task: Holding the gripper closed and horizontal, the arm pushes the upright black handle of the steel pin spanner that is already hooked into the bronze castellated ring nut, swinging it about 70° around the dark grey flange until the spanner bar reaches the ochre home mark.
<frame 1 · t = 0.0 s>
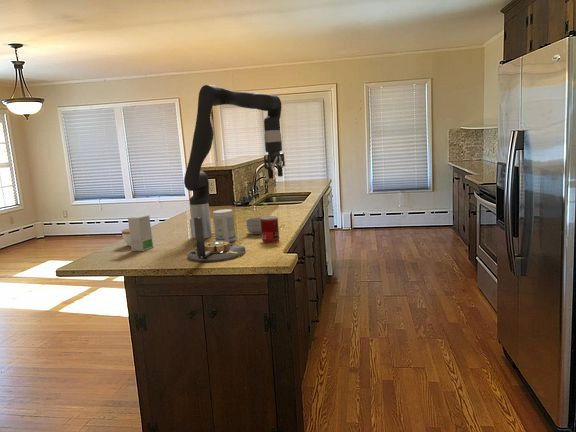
hand: (275, 177, 207), 29 cm above the countertop, tool pointing down, fingers open, 8 cm apart
teacup: (260, 233, 233), on the countertop
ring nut: (209, 233, 188), point 10 cm above the countertop, hinge at 0.0°
canned food: (270, 241, 214), on the countertop
skincare box: (142, 249, 215), on the countertop
supplement tub: (225, 241, 220), on the countertop
lidded jar: (135, 245, 225), on the countertop
flange plate: (217, 254, 194), on the countertop
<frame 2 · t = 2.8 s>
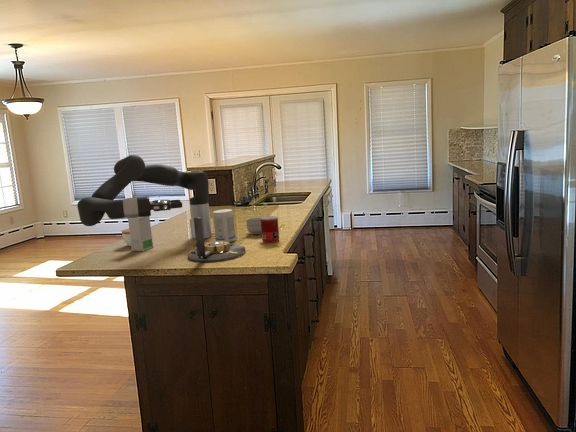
hand: (181, 203, 176), 24 cm above the countertop, tool horizontal, fingers open, 8 cm apart
nothing on the countertop moved.
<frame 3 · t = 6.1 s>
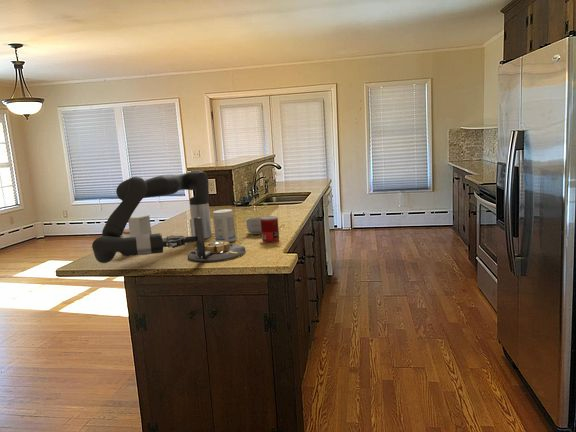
hand: (195, 238, 180), 10 cm above the countertop, tool horizontal, fingers closed
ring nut: (209, 233, 188), point 10 cm above the countertop, hinge at 0.0°, touching gripper
everything else where it was.
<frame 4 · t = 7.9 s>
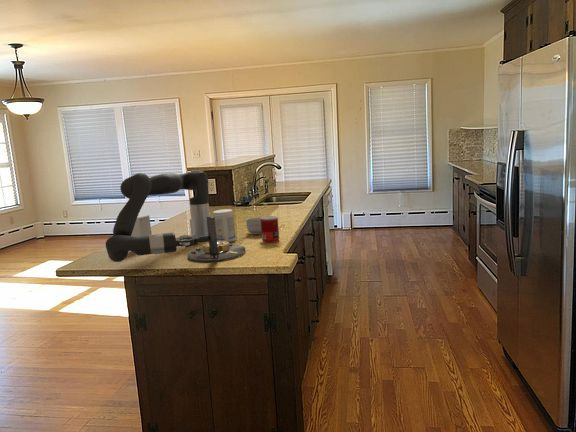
hand: (208, 238, 179), 10 cm above the countertop, tool horizontal, fingers closed
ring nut: (214, 233, 188), point 10 cm above the countertop, hinge at 23.2°, touching gripper
everything else where it was.
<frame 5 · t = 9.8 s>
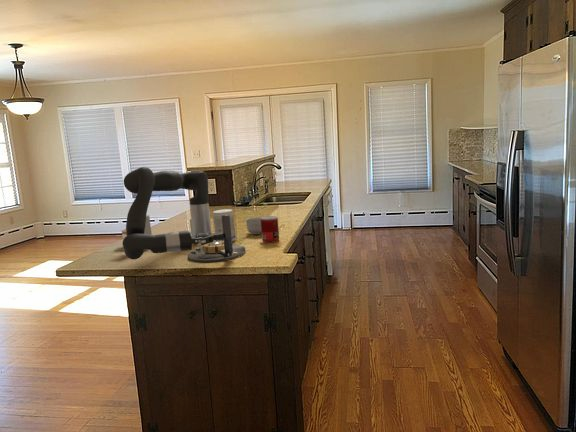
hand: (223, 236, 181), 10 cm above the countertop, tool horizontal, fingers closed
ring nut: (219, 232, 189), point 10 cm above the countertop, hinge at 49.1°, touching gripper
everything else where it was.
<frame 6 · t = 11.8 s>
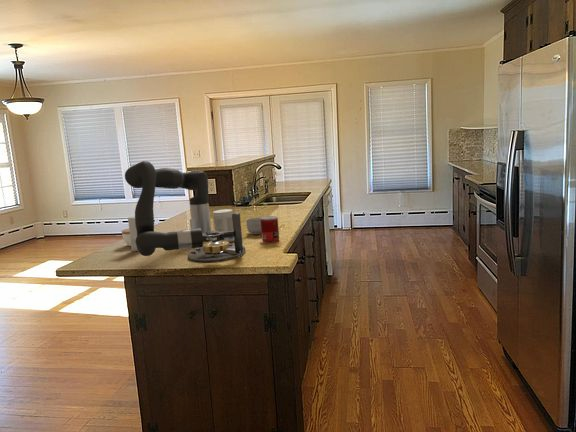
hand: (233, 233, 184), 10 cm above the countertop, tool horizontal, fingers closed
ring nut: (222, 231, 190), point 10 cm above the countertop, hinge at 71.0°, touching gripper
everything else where it was.
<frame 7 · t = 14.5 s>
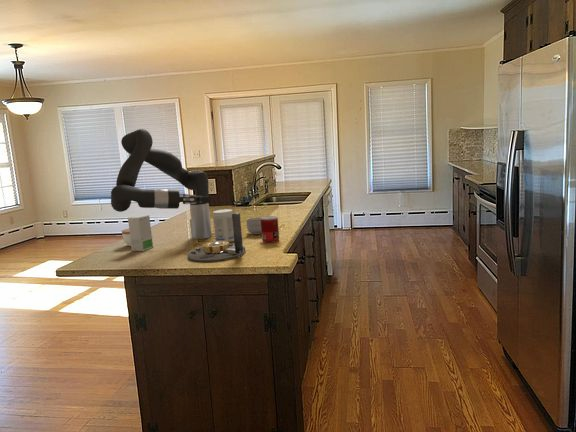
hand: (210, 199, 185), 24 cm above the countertop, tool horizontal, fingers closed
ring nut: (222, 231, 190), point 10 cm above the countertop, hinge at 71.1°
everything else where it was.
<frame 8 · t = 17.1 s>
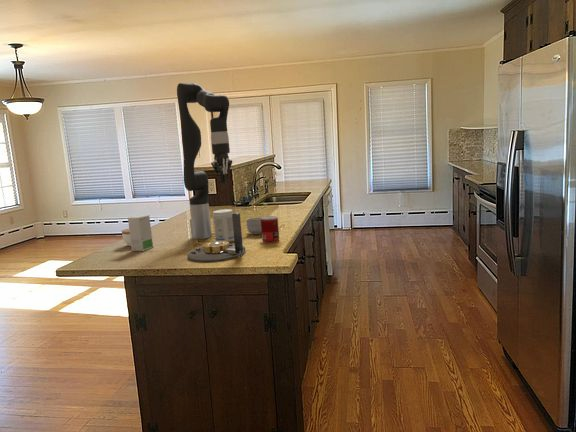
hand: (223, 182, 201), 29 cm above the countertop, tool pointing down, fingers closed
nothing on the countertop moved.
at the end: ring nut at +71° (first picture: +0°) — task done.
